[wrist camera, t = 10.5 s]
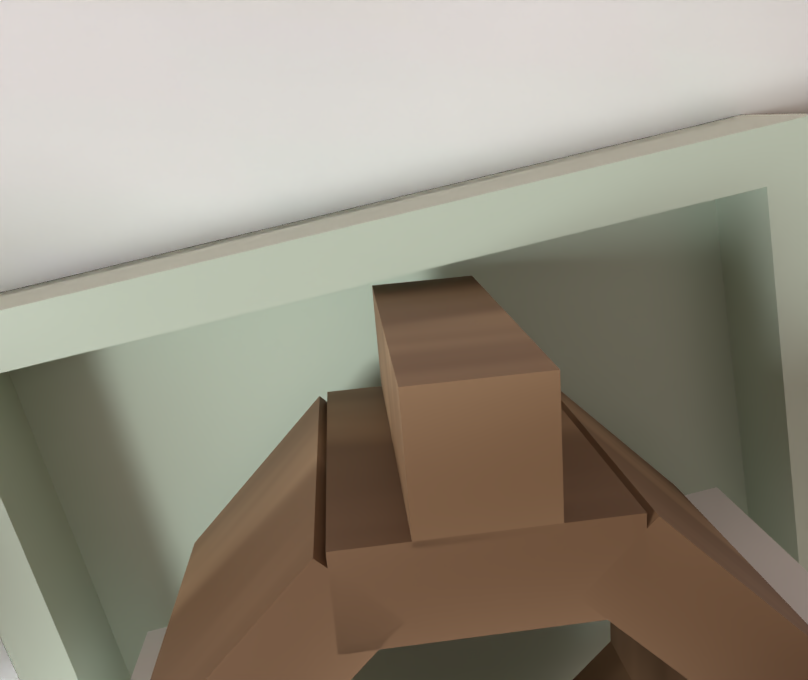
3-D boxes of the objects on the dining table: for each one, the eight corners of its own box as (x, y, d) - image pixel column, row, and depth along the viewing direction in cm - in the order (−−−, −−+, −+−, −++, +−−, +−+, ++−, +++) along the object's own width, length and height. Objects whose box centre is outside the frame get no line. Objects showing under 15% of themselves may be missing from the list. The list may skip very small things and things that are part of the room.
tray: (-59, 306, 15) (-134, 342, 12) (741, 114, 15) (819, 112, 13) (192, 907, 19) (172, 1019, 17) (799, 745, 20) (865, 832, 17)
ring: (149, 307, 13) (31, 426, 8) (682, 255, 14) (895, 333, 9) (241, 823, 17) (200, 1150, 11) (672, 761, 17) (823, 1043, 12)
